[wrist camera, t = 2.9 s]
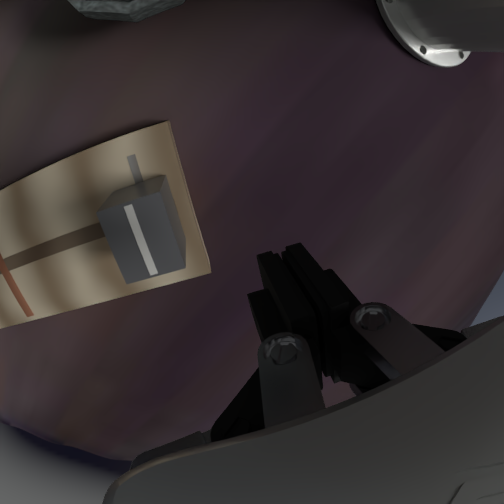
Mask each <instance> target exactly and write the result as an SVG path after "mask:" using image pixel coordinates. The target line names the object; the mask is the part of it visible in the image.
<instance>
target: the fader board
mask: <svg viewBox="0 0 504 504" xmlns="http://www.w3.org/2000/svg"><path fill="white" fill-rule="evenodd" d="M162 175H166V177H167V180H168V183H169V187H170V190H171V193H172V197H173V200H174V203H175V206H176V209H177V213H178V216H179V219H180V222H181V225H182V228H183V231H184V234H185V237H186V268H185V269H181V270H177V271H174V272H170V273H167V274H163V275H159V276H156V277H152V278H149V279H145V280H141V281H138V282H134V283H130V284H126V282H125V280H124V278H123V276H122V273H121V271H120V269H119V267H118V265H117V262H116V260H115V258H114V255H113V253H112V251H111V248H110V246H109V244H108V241H107V239H106V237H105V234H104V232H103V229H102V227H101V224H100V222H99V219H98V217H97V214H96V212H97V211H98V209H99V208H100V207H101V206H102V204H103V203H104V202H105V201H106V199H107V198H108V197H109V196H110V195H111V193H112V192H113V191H116V190H119V189H122V188H125V187H128V186H131V185H134V184H137V183H140V182H143V181H146V180H150V179H153V178H156V177H159V176H162ZM208 273H211V268H210V261H209V258H208V255H207V251H206V248H205V245H204V242H203V238H202V235H201V232H200V228H199V225H198V222H197V219H196V215H195V212H194V208H193V205H192V202H191V198H190V195H189V191H188V188H187V184H186V181H185V177H184V174H183V170H182V166H181V163H180V159H179V156H178V152H177V148H176V145H175V141H174V137H173V133H172V130H171V126H170V122H169V120H168V121H165V122H162V123H158V124H155V125H152V126H149V127H146V128H143V129H140V130H137V131H134V132H131V133H128V134H125V135H122V136H119V137H117V138H114V139H111V140H109V141H106V142H103V143H101V144H98V145H96V146H93V147H91V148H88V149H86V150H83V151H81V152H78V153H76V154H74V155H71V156H69V157H67V158H64V159H62V160H60V161H58V162H56V163H53V164H51V165H49V166H47V167H45V168H43V169H41V170H39V171H36V172H34V173H32V174H30V175H28V176H26V177H24V178H23V179H21V180H19V181H17V182H15V183H13V184H11V185H9V186H7V187H6V188H4V189H2V190H0V329H1V328H5V327H8V326H12V325H16V324H20V323H24V322H28V321H32V320H36V319H39V318H43V317H47V316H51V315H55V314H59V313H63V312H66V311H70V310H74V309H78V308H82V307H85V306H89V305H93V304H97V303H100V302H104V301H108V300H112V299H116V298H119V297H123V296H127V295H131V294H134V293H138V292H142V291H145V290H149V289H153V288H157V287H160V286H164V285H168V284H171V283H175V282H179V281H182V280H186V279H190V278H193V277H197V276H201V275H204V274H208Z"/></svg>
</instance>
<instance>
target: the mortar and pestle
mask: <svg viewBox="0 0 504 504" xmlns="http://www.w3.org/2000/svg"><path fill="white" fill-rule="evenodd" d="M68 1H69V2H70V3H71V4H72V5H73V6H74V7H75V8H76V9H77V10H78V11H79V12H80V13H81V14H83V15H84V16H85V17H88V18H92V19H101V20H117V21H128V22H139V21H141V20H144V19H146V18H148V17H151V16H153V15H156V14H158V13H161V12H163V11H166V10H168V9H171V8H174V7H176V6H179V5H182V4H183V3H184V1H185V0H68Z"/></svg>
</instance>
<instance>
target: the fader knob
mask: <svg viewBox="0 0 504 504" xmlns="http://www.w3.org/2000/svg"><path fill="white" fill-rule="evenodd" d="M96 214H97V217H98V219H99V222H100V224H101V227H102V229H103V232H104V234H105V237H106V239H107V241H108V244H109V246H110V248H111V251H112V253H113V255H114V258H115V260H116V262H117V265H118V267H119V269H120V271H121V273H122V276H123V278H124V280H125V282H126V284H130V283H134V282H138V281H141V280H145V279H149V278H152V277H156V276H159V275H163V274H167V273H170V272H174V271H177V270H181V269H185V268H186V237H185V234H184V231H183V228H182V225H181V222H180V219H179V216H178V213H177V209H176V206H175V203H174V200H173V197H172V193H171V190H170V187H169V183H168V180H167V177H166V175H162V176H159V177H156V178H153V179H150V180H146V181H143V182H140V183H137V184H134V185H131V186H128V187H125V188H122V189H119V190H116V191H113V192H112V193H111V195H110V196H109V197H108V198H107V199H106V201H105V202H104V203H103V204H102V206H101V207H100V208H99V209H98V211H97V212H96Z"/></svg>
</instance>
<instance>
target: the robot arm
mask: <svg viewBox="0 0 504 504" xmlns="http://www.w3.org/2000/svg"><path fill="white" fill-rule="evenodd" d="M376 3H377V6H378V8H379V11H380V13H381V16H382V17H383V19H384V21H385V23H386V25H387V27H388V28H389V30H390V31H391V32H392V34H393V35H394V37H395V38H396V39H397V40H398V42H399V43H400V44H401V45H402V46H403V47H404V48H405V49H406V50H407V51H408V52H409V53H411V54H412V55H413V56H414V57H416V58H417V59H419V60H420V61H422V62H424V63H427V64H429V65H431V66H436V67H453V66H457V65H459V64H461V63H463V62H464V60H465V59H466V58H467V57H468V55H469V54H470V52H471V51H484V52H504V0H376ZM281 254H282V259H281V257H280V256H279V254H278V253H276V254H273V253H272V251H269V252H266V253H262V254H259V255H257V260H258V265H259V269H260V274H261V278H262V282H263V287H264V289H263V290H259V291H256V292H252V293H249V294H247V296H248V300H249V303H250V307H251V311H252V314H253V318H254V321H255V324H256V327H257V330H258V333H259V336H260V339H261V342H262V343H261V345H260V347H259V349H258V364H259V367H258V369H257V370H256V371H255V372H254V374H253V375H252V376H251V378H250V379H249V380H248V382H247V383H246V384H245V385H244V387H243V388H242V389H241V390H240V392H239V393H238V394H237V396H236V397H235V398H234V399H233V401H232V402H231V403H230V404H229V406H228V407H227V408H226V409H225V410H224V412H223V413H222V414H221V415H220V417H219V418H218V419H217V420H216V421H215V423H214V425H213V426H212V429H210V430H208V431H206V432H203V433H201V432H200V431H197V432H195V433H193V434H190V435H188V436H185V437H183V438H180V439H178V440H175V441H172V442H170V443H167V444H165V445H162V446H159V447H156V448H154V449H151V450H148V451H145V452H143V453H141V454H139V455H138V456H137V457H136V458H135V459H134V460H133V462H132V464H131V467H130V471H128V472H126V473H125V474H123V475H122V476H121V477H119V478H118V479H117V480H115V481H114V482H113V483H112V484H111V486H110V487H109V488H108V490H107V492H106V494H105V496H104V499H103V503H102V504H504V316H501V317H497V318H495V319H492V320H489V321H486V322H483V323H480V324H477V325H474V326H471V327H468V328H465V329H462V330H461V333H459V332H457V331H453V330H448V329H442V328H435V327H429V326H423V325H416V324H411V323H410V322H409V321H407V320H406V319H405V318H404V317H402V316H401V315H400V314H399V313H397V312H396V311H395V310H394V309H392V308H391V307H389V306H388V305H386V304H383V303H379V302H370V303H364V304H361V303H360V302H359V300H358V299H357V298H356V297H355V296H354V294H353V293H352V292H351V291H350V290H349V289H348V287H347V286H346V285H345V284H344V283H343V281H342V280H341V279H340V278H339V277H338V276H337V274H336V273H335V272H334V271H333V270H332V269H327V270H324V271H323V269H322V268H321V267H320V266H319V264H318V263H317V262H316V261H315V260H314V258H313V257H312V256H311V255H310V253H309V252H308V251H307V250H306V249H305V247H304V246H303V245H302V244H301V243H297V244H293V245H290V246H286V251H283V252H282V253H281ZM322 372H323V374H324V375H325V377H328V376H331V378H332V380H333V382H334V383H337V382H339V381H343V382H347V383H349V385H350V388H351V390H352V391H353V393H354V394H355V395H356V397H353V398H351V399H348V400H346V401H343V402H341V403H338V404H336V405H333V406H331V407H328V408H326V407H325V403H324V400H323V396H322V392H321V390H322V389H323V382H322Z"/></svg>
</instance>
